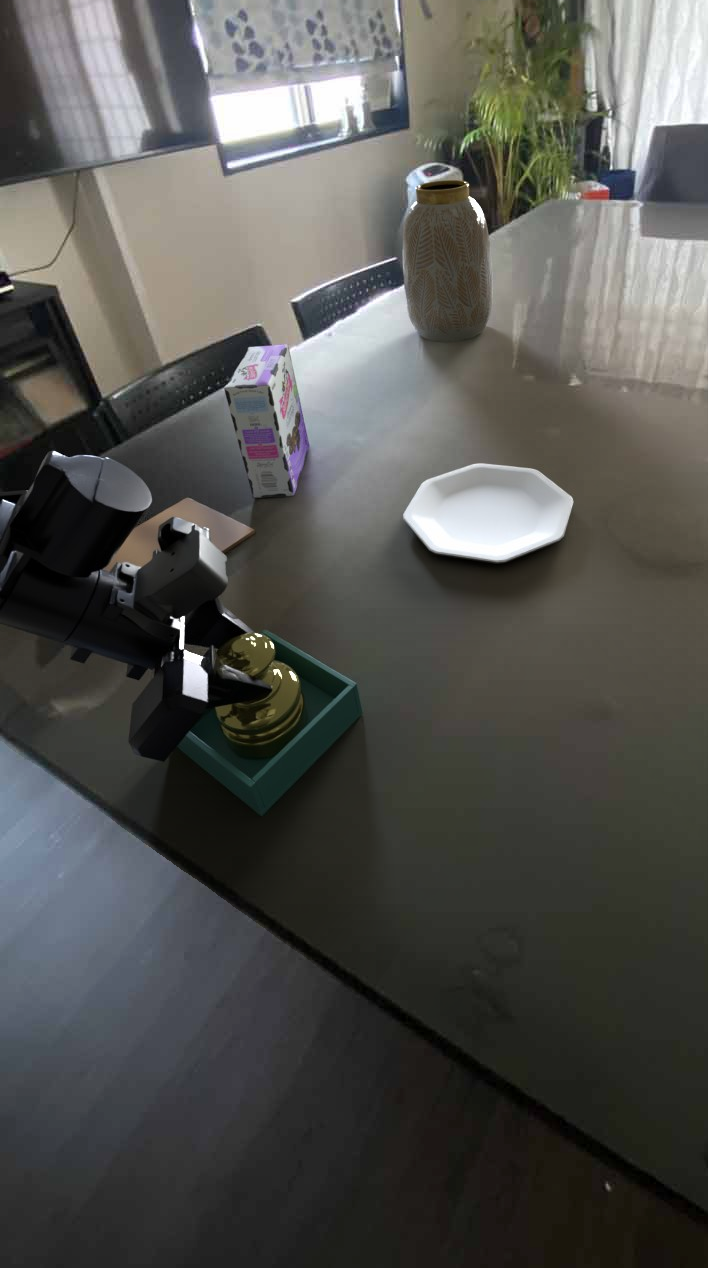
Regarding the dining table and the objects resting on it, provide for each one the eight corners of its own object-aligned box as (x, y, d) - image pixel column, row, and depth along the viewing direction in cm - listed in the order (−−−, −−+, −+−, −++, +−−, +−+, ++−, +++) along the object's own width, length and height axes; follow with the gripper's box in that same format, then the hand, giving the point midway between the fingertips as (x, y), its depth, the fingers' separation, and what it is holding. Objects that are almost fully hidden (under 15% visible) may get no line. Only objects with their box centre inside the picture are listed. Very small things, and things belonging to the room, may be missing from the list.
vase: (418, 315, 147) (406, 178, 131) (498, 314, 143) (495, 173, 128) (400, 346, 133) (384, 197, 118) (487, 346, 129) (483, 192, 114)
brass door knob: (309, 685, 64) (289, 607, 58) (307, 754, 58) (284, 674, 52) (230, 697, 63) (201, 619, 58) (219, 767, 57) (186, 688, 52)
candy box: (295, 497, 91) (268, 384, 82) (251, 500, 92) (221, 387, 82) (311, 446, 103) (289, 341, 93) (272, 448, 103) (247, 344, 94)
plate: (553, 580, 74) (554, 569, 73) (385, 554, 80) (384, 544, 79) (580, 483, 89) (581, 473, 88) (437, 467, 95) (436, 458, 94)
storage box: (261, 816, 54) (250, 787, 52) (172, 743, 60) (158, 714, 58) (363, 713, 61) (356, 683, 59) (273, 657, 68) (265, 629, 65)
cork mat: (128, 618, 74) (127, 614, 74) (64, 573, 82) (62, 569, 81) (255, 532, 85) (254, 529, 85) (188, 500, 93) (187, 497, 93)
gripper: (124, 613, 39) (342, 691, 47) (146, 457, 54) (309, 537, 62) (33, 736, 42) (253, 789, 50) (78, 557, 57) (242, 620, 65)
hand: (267, 670), depth 57 cm, fingers closed on brass door knob, 5 cm apart
